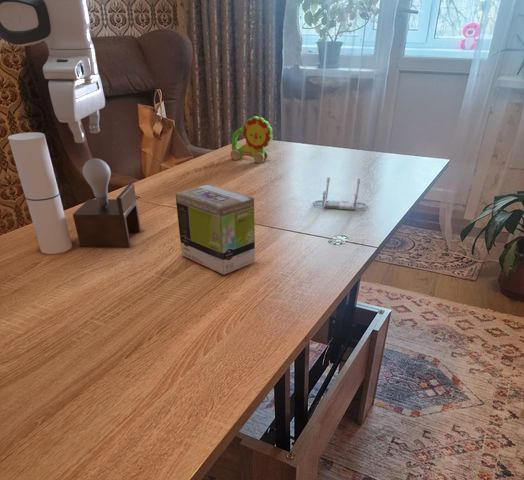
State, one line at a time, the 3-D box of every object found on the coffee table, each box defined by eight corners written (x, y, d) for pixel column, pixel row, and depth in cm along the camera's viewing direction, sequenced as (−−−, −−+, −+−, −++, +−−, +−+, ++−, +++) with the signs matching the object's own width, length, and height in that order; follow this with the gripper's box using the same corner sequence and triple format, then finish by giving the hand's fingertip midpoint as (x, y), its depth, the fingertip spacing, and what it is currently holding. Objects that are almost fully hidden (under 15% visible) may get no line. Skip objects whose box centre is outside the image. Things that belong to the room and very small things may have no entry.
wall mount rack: (311, 210, 136) (312, 189, 133) (316, 195, 147) (317, 175, 143) (366, 213, 133) (369, 192, 130) (368, 198, 144) (370, 178, 141)
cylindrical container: (38, 255, 112) (4, 140, 97) (43, 243, 117) (11, 133, 103) (70, 252, 113) (41, 138, 98) (73, 240, 119) (46, 131, 104)
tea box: (256, 262, 108) (256, 196, 100) (223, 276, 102) (219, 208, 94) (213, 243, 117) (209, 181, 108) (180, 256, 111) (173, 191, 103)
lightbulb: (121, 203, 117) (112, 156, 111) (109, 211, 112) (99, 163, 106) (98, 201, 118) (88, 154, 112) (85, 209, 113) (74, 161, 107)
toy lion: (230, 160, 181) (228, 115, 172) (236, 156, 185) (235, 113, 176) (268, 164, 176) (268, 119, 167) (274, 161, 180) (274, 116, 171)
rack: (80, 246, 116) (68, 197, 109) (95, 229, 125) (85, 182, 118) (129, 247, 115) (120, 197, 108) (141, 230, 124) (133, 183, 117)
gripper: (77, 60, 107) (90, 127, 115) (38, 69, 90) (55, 147, 98) (105, 60, 107) (116, 128, 115) (71, 70, 90) (86, 148, 98)
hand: (88, 137), depth 106 cm, fingers open, 8 cm apart
